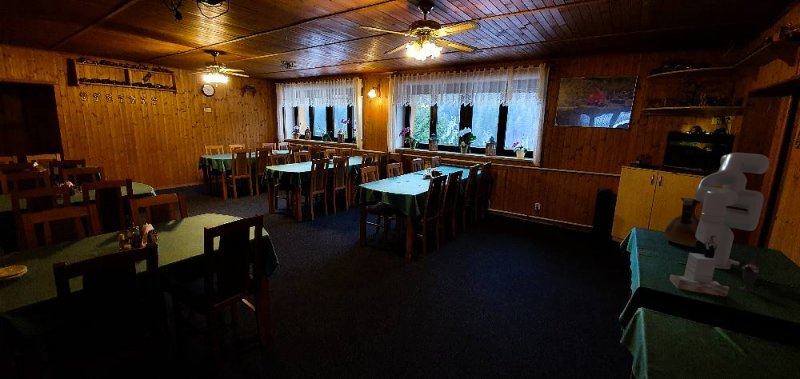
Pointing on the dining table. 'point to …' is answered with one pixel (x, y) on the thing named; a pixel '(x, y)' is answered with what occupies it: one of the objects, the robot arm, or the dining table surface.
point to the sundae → (749, 275)
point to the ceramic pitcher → (684, 224)
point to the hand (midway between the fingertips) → (703, 253)
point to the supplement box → (699, 268)
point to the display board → (699, 286)
